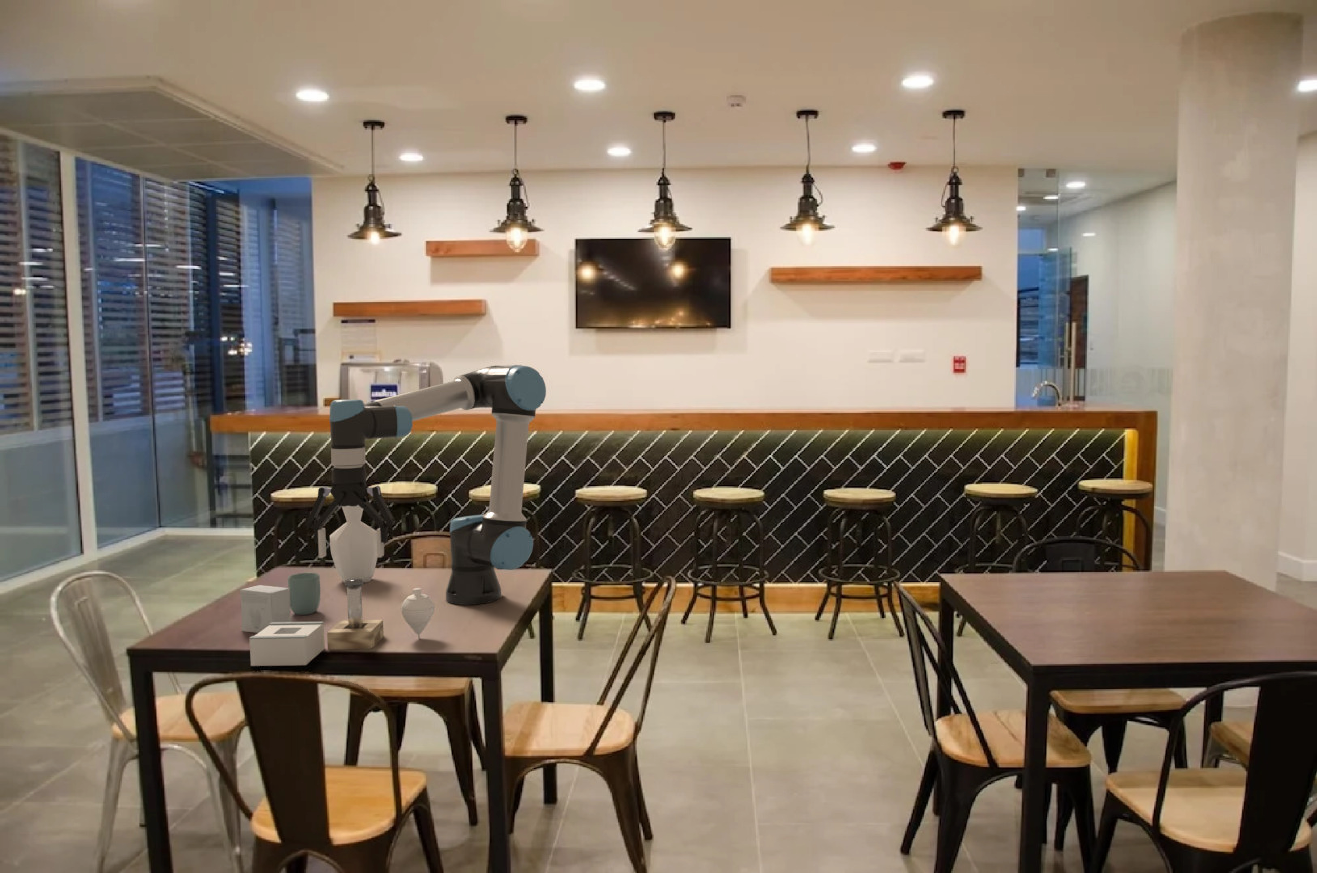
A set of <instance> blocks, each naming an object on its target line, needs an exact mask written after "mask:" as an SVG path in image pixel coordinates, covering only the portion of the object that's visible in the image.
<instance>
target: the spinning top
mask: <svg viewBox="0 0 1317 873" xmlns="http://www.w3.org/2000/svg"><path fill="white" fill-rule="evenodd" d="M412 592H413V593H412V594H410V595H409V596H407V597H406V599H404V601H403V602H402V605H401V606H400V607H401V608H400V610H401V611H400V612H401V614H402V617H403V618H404V620H405V622H406V623H407V624H408V626H409V627H410V629H412V630H413V632H414V633H415V634H417V639H420V638H421V637H420V636H421V635H422V634H421V633H423V631H424V630H425V628H426V627H427V626H428V624H429V622H430V621H431V620H432V617H433V615H434V612H435V604H434V603H435V602H434V601H433V600H432V599H431V598H430V596H429V595H428V594H425V593H424V594H423V593H422V588H421V587H416V588H413V589H412Z"/></svg>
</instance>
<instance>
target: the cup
mask: <svg viewBox="0 0 1317 873" xmlns="http://www.w3.org/2000/svg"><path fill="white" fill-rule="evenodd" d="M287 588H290V611H291V612H293V614H295V615H300V616H306V615H311V614H314V613H316V612H317V610H318V609H319V607H320V605H321V604H320V603H321V577H320V574H319V573H318V572H300V573H294V574H291V575H289V576H288V577H287Z"/></svg>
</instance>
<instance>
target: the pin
mask: <svg viewBox="0 0 1317 873" xmlns="http://www.w3.org/2000/svg"><path fill="white" fill-rule="evenodd" d="M362 586H364V583H363V579H361V578H351V579H347V580H345V583H344V587H345V588H346V595H347V596H346V598H347V599H346V600H347V616H348V617H347V620H348V626H349V629H363V620H364V618H363V603H362V602H363V598H362Z"/></svg>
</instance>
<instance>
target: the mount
mask: <svg viewBox="0 0 1317 873" xmlns="http://www.w3.org/2000/svg"><path fill="white" fill-rule="evenodd" d="M384 633H385V632H384V619H363V629H349V626H348V619H347V620H346V619H345V620H344V619H343V620H341V619H340V621H339V622H338V623H336V624H335V625H334V626H333V627H332V628H330V630H328V631H327V632H326V635H327V636H326V637H327V638H326V641H327V642H326V643H327V650H370V649H371V648H372V647H373V648H374V647H375V646H376V645H377V644H378V643H379V641H380V640H382V638H384V636H385V634H384ZM373 648H372V649H373Z"/></svg>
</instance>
